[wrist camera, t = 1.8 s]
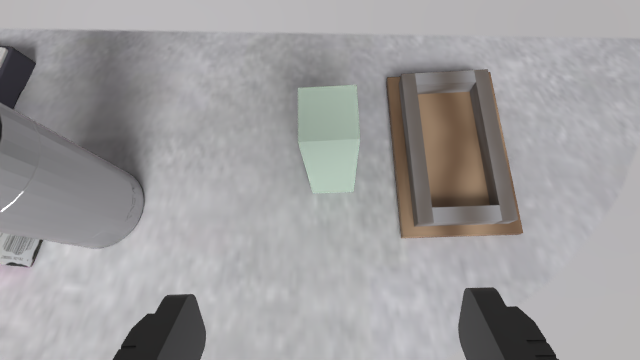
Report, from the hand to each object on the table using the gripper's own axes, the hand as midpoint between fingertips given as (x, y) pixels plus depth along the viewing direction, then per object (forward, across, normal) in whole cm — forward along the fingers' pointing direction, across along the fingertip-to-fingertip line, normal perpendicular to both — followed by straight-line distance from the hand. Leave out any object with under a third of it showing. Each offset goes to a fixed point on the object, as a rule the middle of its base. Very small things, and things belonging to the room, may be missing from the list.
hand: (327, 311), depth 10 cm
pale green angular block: (+28, 0, +9) cm, 29 cm away
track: (+29, -13, +7) cm, 33 cm away
